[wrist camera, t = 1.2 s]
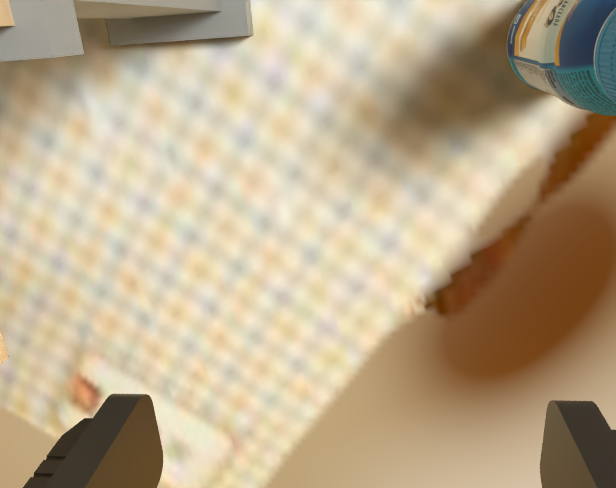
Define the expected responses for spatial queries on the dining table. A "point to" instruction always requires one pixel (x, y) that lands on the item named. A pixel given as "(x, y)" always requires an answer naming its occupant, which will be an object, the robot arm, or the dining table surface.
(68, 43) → the pedestal
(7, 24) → the wooden t-shaped block
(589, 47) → the beverage bottle
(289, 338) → the dining table surface
